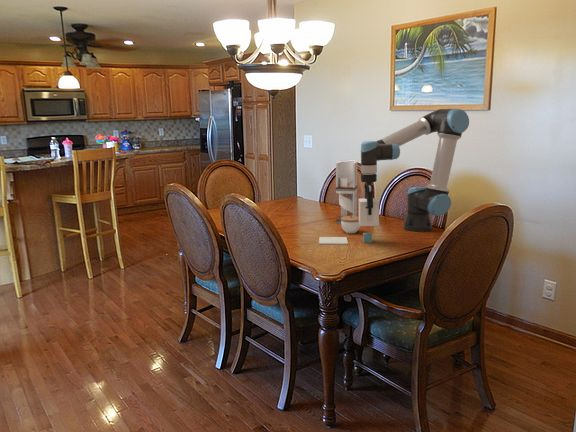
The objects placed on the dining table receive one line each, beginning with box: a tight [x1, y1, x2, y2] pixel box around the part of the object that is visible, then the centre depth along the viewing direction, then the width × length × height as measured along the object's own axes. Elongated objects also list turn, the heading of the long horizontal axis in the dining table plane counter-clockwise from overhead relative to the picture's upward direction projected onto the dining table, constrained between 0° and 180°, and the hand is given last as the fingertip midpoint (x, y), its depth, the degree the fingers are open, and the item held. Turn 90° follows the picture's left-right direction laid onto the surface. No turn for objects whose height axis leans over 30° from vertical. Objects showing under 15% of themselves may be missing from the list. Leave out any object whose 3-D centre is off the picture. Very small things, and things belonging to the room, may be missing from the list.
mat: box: [318, 236, 349, 246], centre depth 235 cm, size 14×12×1 cm
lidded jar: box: [340, 215, 361, 234], centre depth 252 cm, size 11×11×9 cm
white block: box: [358, 197, 380, 227], centre depth 231 cm, size 9×9×12 cm
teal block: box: [362, 232, 373, 244], centre depth 234 cm, size 4×4×4 cm
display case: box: [335, 160, 358, 225], centre depth 274 cm, size 11×11×35 cm
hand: (368, 218), depth 232 cm, fingers closed on white block, 9 cm apart
